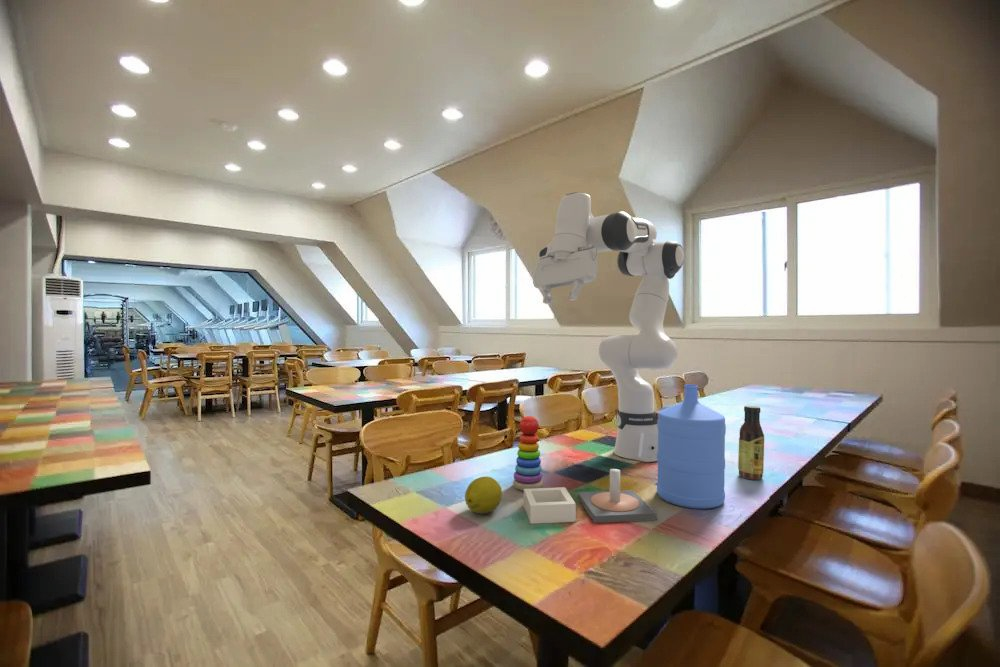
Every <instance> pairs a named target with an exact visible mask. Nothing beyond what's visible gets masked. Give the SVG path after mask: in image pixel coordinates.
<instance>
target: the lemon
mask: <svg viewBox="0 0 1000 667" xmlns="http://www.w3.org/2000/svg"><path fill="white" fill-rule="evenodd" d="M502 493H503V492H502V487H501V484H500V483H499V482H498V481H497V480H496V479H495V478H493V477H492V476H491V477H490V476H480V477H478V478H475V479H474V480H473V481H471V482H470V483H469V484H468V486H467V489H466V490H465V493H464V500H465V503H466V506H467V508H468V509H470V511H472V512H474V513H475V514H480V515H481V514H483V515H485V514H488V513H489V514H490V513H491V512H493V511H494V510H496V508H497V507H498V506H499V505H500V503H501V501H502V496H503V495H502Z"/></svg>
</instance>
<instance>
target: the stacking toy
mask: <svg viewBox="0 0 1000 667" xmlns="http://www.w3.org/2000/svg"><path fill="white" fill-rule="evenodd" d="M539 428H540V426H539V421H538V419H537V418H536V417H534V416H531V415H528V416H526V415H525V416H524V417H522V419H521V420H520V422H519V429H520V431H521V433H522V434H520V435H519V438H518V439H519V443H518V444H517V447H518V450H517V453H516V454H517V457H516V460H515V462H516V465H515V467H514V468H515V472H513V478H514V479H513V481H512V486H513V487H514V488H516V489H517V490H519V491H523V492H524V489H533V488H543V487H544V481H543V480H542V478H543V474H542V469H543V468H542V465H541V463H542V462H541V461H542V459H541V458H540V456H541V451H540V450H539V447H540V445H539V443H538V441H539V436H538V435H537V434H536V433H537V432H538V430H539Z"/></svg>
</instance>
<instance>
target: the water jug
mask: <svg viewBox="0 0 1000 667" xmlns="http://www.w3.org/2000/svg"><path fill="white" fill-rule="evenodd" d="M683 386H684V392H683V394H684V399H683V401H682V402H678V403H677V404H674V405H672V406H669V407H666V408H663V409H662V410H659V412H657V413H658V422H657V427H658V451H657V461H656V462H657V483H656V493H657V495H658V496H659V497H660V498H661V499H663V500H664V501H665V502H668V503H670V504H673V505H675V506H678V507H683V508H688V509H695V510H704V509H705V510H707V509H715V508H717V507H721V505H722V504H724V502H725V499H726V492H725V469H726V458H725V457H726V455H725V453H726V451H725V450H726V448H725V446H726V443H725V442H726V428H727V426H726V425H727V424H726V417H725V415H724V414H722V413H720V412H718V411H716V410H714V409H711V408H710V407H709V406H706V405H704V404H702V403H700V402H699V400H698V399H699V398H698V397H699V391H698V388H699V385H697V384H696V385H695V384H684V385H683Z"/></svg>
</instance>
